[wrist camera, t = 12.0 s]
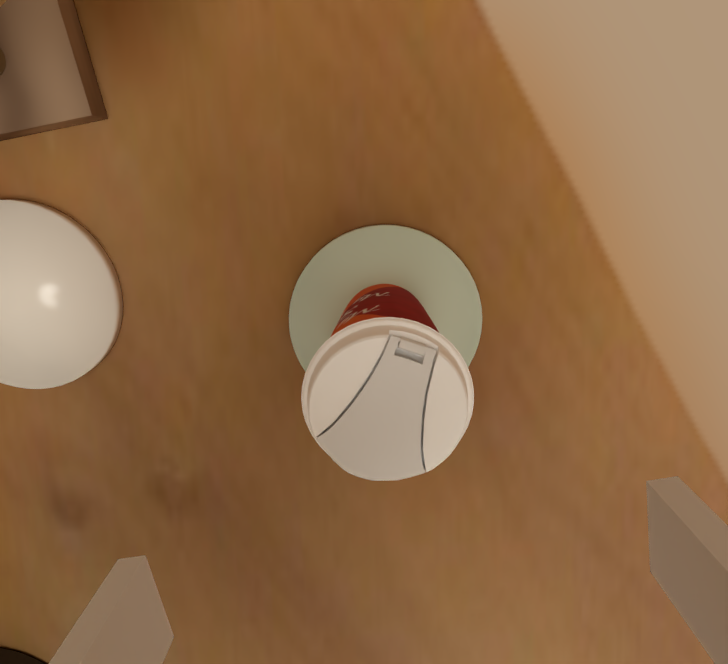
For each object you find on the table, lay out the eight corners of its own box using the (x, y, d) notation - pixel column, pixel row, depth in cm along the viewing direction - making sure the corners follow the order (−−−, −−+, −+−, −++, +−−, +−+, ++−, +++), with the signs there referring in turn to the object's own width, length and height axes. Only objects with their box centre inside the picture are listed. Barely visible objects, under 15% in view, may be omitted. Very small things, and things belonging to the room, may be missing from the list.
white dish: (-23, 395, 40) (-35, 402, 38) (-96, 218, 36) (-112, 220, 35) (146, 367, 39) (139, 372, 37) (88, 182, 35) (78, 182, 34)
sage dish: (312, 418, 39) (310, 425, 38) (272, 243, 36) (269, 245, 35) (489, 389, 39) (492, 396, 37) (466, 207, 35) (469, 208, 34)
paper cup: (347, 251, 35) (328, 300, 21) (458, 288, 35) (508, 359, 22) (312, 358, 37) (274, 464, 23) (417, 392, 37) (439, 515, 24)
